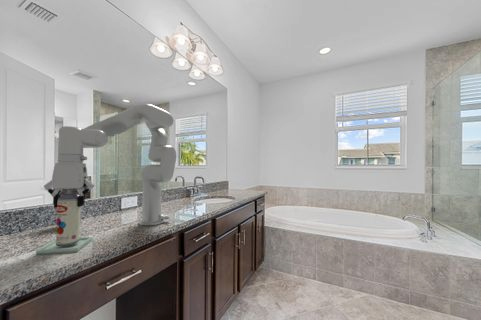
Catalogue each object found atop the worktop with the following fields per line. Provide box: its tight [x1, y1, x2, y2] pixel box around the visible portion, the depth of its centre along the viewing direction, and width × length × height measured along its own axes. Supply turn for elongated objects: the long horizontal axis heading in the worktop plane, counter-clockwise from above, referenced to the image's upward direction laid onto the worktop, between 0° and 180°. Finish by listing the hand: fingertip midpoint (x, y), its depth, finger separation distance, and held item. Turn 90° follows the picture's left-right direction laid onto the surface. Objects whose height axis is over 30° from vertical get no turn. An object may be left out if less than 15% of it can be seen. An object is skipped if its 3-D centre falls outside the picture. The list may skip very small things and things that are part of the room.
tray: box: [35, 236, 94, 256], centre depth 79 cm, size 12×12×2 cm
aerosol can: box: [55, 189, 81, 246], centre depth 79 cm, size 7×7×20 cm
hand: (69, 206), depth 79 cm, fingers closed on aerosol can, 6 cm apart
